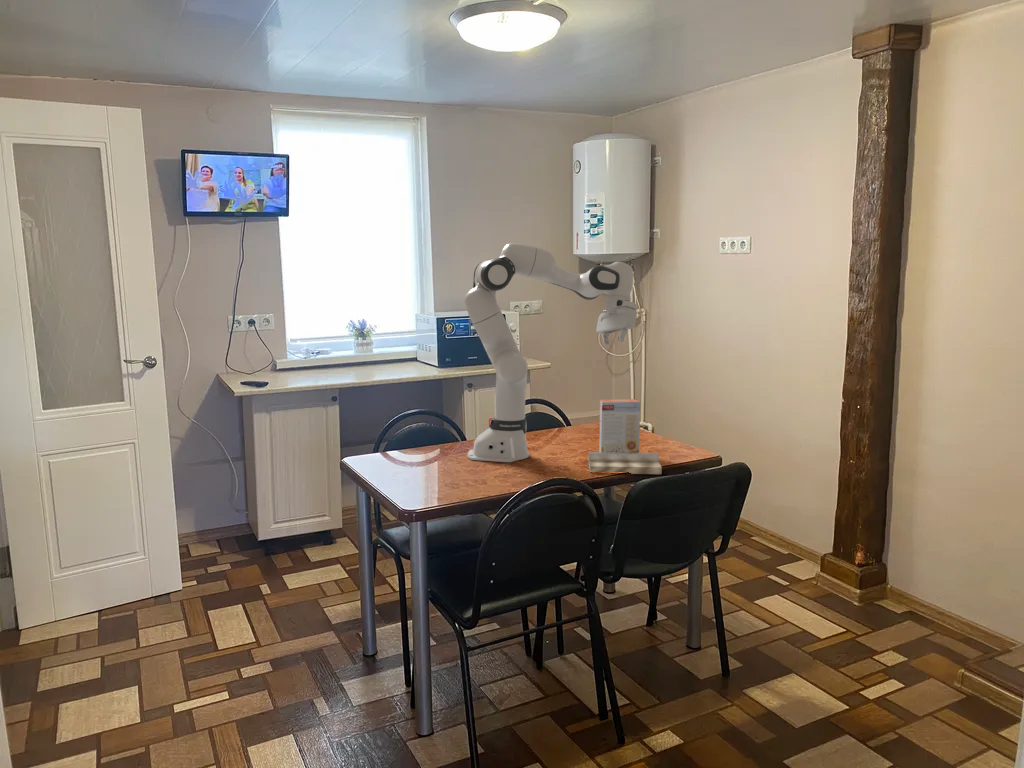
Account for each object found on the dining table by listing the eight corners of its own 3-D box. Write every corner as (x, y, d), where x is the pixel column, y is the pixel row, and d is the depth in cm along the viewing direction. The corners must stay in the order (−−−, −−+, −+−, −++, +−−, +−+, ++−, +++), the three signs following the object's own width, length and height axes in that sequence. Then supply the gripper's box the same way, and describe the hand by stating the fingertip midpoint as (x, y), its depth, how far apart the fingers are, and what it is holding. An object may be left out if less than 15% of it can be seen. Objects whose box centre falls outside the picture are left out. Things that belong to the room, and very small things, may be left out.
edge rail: (588, 467, 269) (589, 453, 268) (588, 465, 271) (588, 452, 270) (658, 468, 269) (658, 454, 268) (657, 466, 271) (657, 452, 270)
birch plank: (590, 473, 262) (590, 466, 262) (588, 467, 269) (589, 460, 269) (661, 474, 262) (661, 467, 261) (658, 468, 269) (658, 461, 268)
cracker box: (635, 453, 288) (637, 398, 284) (639, 458, 282) (641, 401, 278) (598, 453, 288) (599, 398, 284) (600, 458, 282) (602, 401, 278)
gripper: (594, 308, 290) (590, 344, 288) (626, 299, 272) (621, 338, 270) (608, 312, 293) (604, 348, 291) (641, 304, 275) (636, 342, 273)
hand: (612, 343), depth 281 cm, fingers open, 8 cm apart
